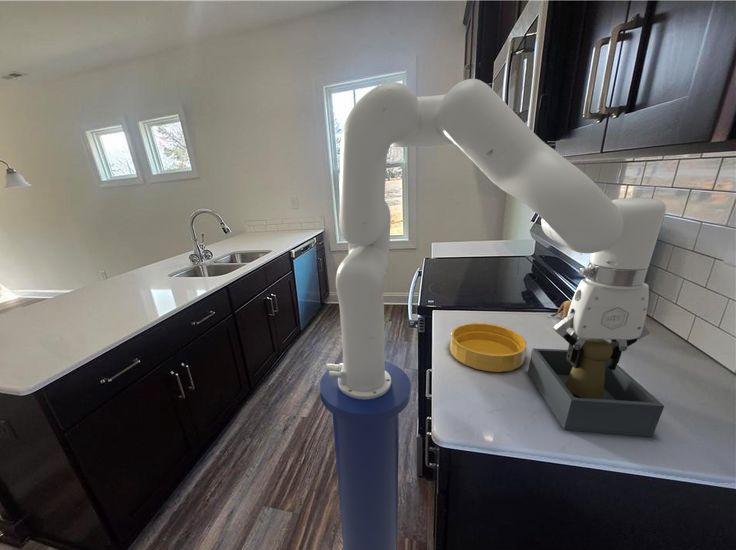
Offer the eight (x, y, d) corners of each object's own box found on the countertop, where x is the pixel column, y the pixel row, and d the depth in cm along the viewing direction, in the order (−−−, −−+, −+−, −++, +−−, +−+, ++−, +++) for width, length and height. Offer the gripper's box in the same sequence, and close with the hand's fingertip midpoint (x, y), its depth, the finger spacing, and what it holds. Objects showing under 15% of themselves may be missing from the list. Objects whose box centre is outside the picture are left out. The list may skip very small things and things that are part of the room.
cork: (575, 398, 60) (588, 348, 56) (559, 379, 66) (570, 332, 62) (610, 399, 59) (626, 349, 55) (591, 380, 65) (604, 333, 61)
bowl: (455, 370, 76) (457, 354, 74) (446, 336, 91) (447, 322, 90) (534, 374, 72) (538, 357, 71) (510, 338, 88) (513, 323, 86)
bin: (563, 429, 57) (571, 400, 54) (527, 373, 73) (532, 348, 70) (652, 437, 54) (664, 406, 52) (594, 376, 70) (601, 350, 68)
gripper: (569, 281, 52) (549, 374, 59) (693, 281, 49) (657, 379, 55) (549, 268, 59) (533, 353, 66) (657, 268, 56) (628, 356, 62)
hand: (590, 364), depth 60 cm, fingers closed on cork, 5 cm apart
